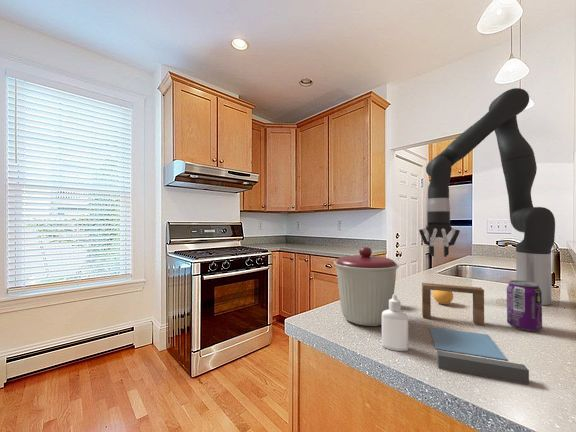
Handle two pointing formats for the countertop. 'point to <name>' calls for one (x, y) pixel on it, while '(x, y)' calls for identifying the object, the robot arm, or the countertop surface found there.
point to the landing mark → (465, 343)
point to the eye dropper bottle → (394, 327)
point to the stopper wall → (483, 367)
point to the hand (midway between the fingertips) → (438, 256)
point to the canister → (365, 286)
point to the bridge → (477, 291)
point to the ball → (443, 296)
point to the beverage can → (524, 305)
